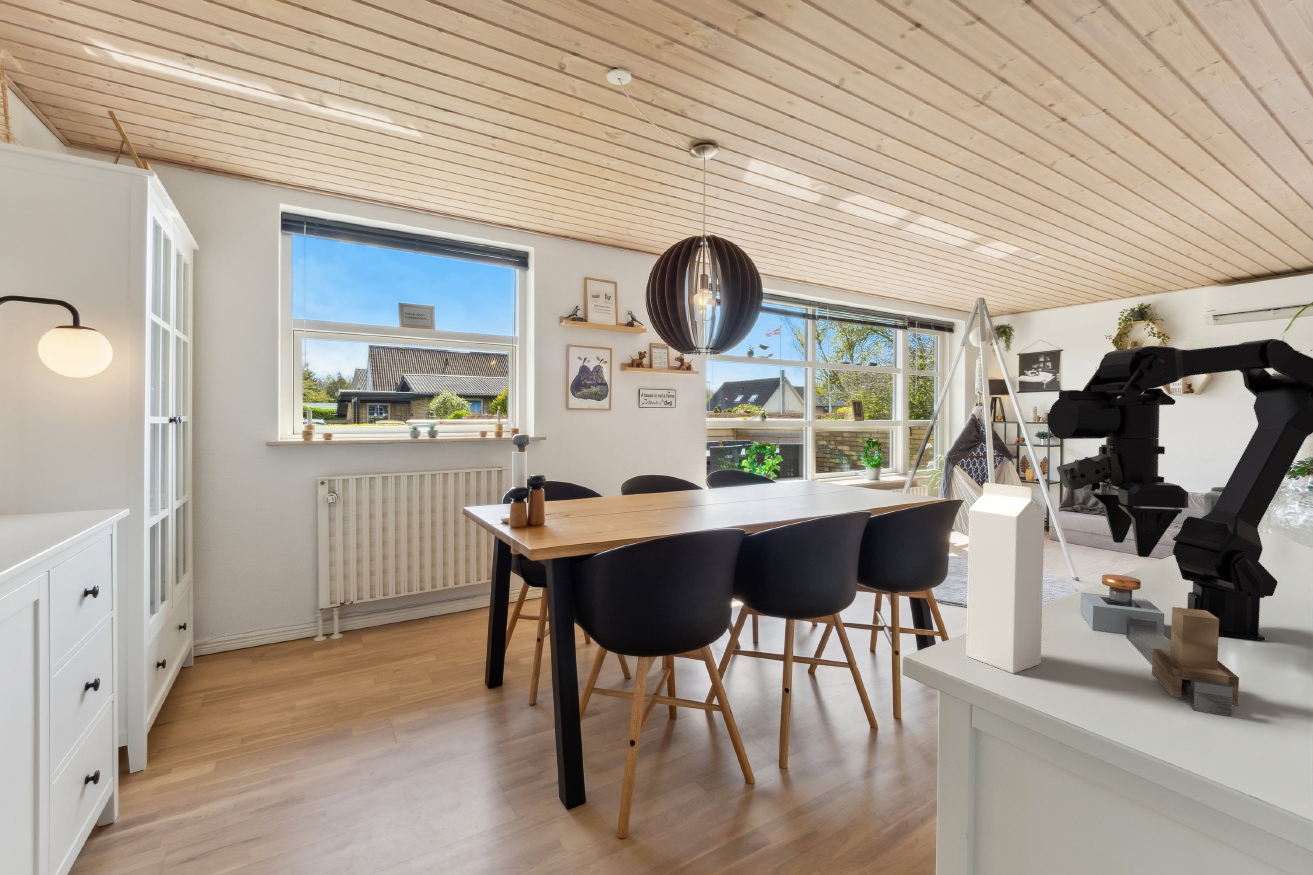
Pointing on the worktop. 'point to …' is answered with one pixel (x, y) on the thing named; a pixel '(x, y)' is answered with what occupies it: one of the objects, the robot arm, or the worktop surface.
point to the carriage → (1192, 653)
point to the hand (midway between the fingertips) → (1129, 549)
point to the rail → (1193, 691)
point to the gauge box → (1116, 613)
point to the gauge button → (1120, 589)
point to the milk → (1005, 578)
